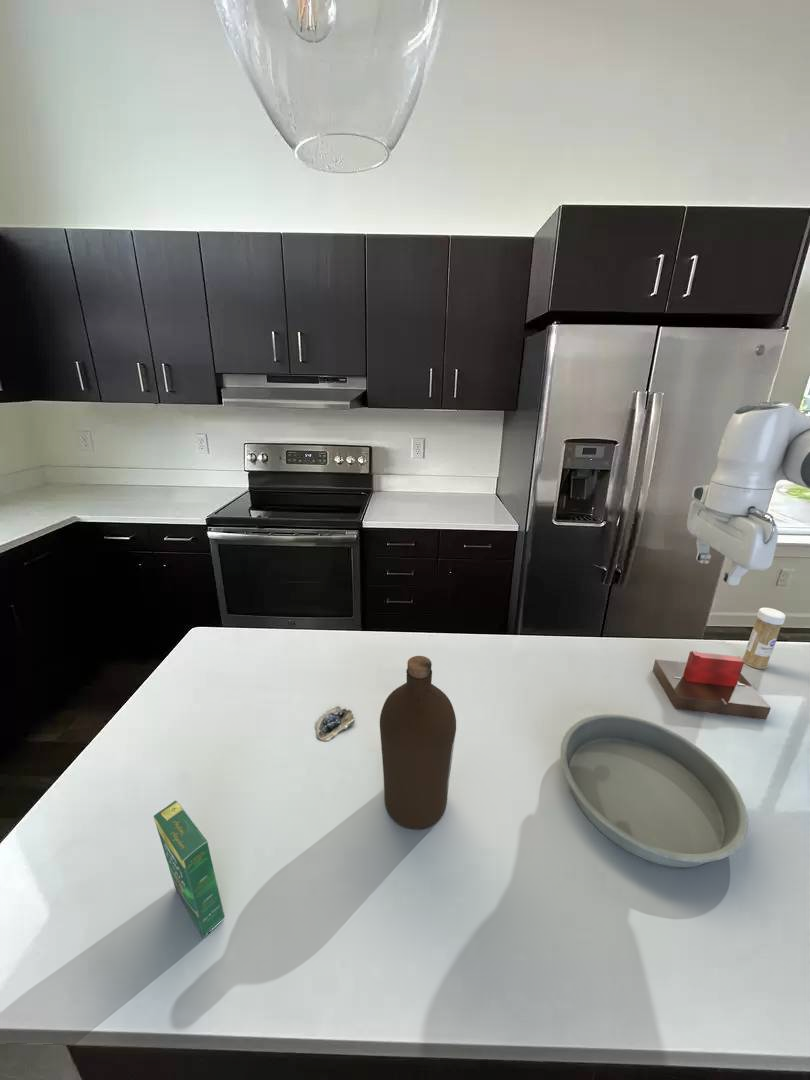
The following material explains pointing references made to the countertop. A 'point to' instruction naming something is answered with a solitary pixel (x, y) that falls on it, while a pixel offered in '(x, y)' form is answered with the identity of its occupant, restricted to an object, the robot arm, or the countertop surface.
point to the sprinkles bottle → (763, 637)
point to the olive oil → (417, 748)
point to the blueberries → (333, 723)
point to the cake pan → (653, 791)
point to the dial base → (709, 694)
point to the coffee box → (190, 866)
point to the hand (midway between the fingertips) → (715, 572)
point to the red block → (713, 669)
